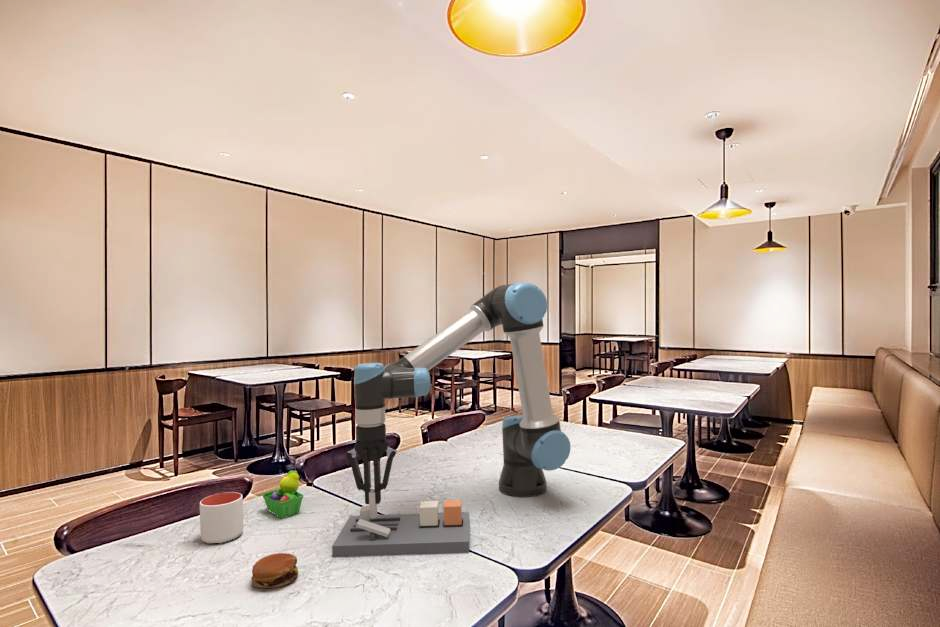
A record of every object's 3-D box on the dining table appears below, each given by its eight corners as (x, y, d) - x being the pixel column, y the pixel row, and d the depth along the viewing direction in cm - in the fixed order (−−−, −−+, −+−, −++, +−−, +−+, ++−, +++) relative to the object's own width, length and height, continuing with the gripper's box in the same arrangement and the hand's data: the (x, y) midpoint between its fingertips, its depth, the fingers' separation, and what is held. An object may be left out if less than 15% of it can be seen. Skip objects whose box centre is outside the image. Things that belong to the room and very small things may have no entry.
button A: (461, 517, 132) (461, 500, 132) (461, 524, 128) (461, 506, 128) (444, 518, 132) (444, 500, 132) (444, 525, 128) (443, 506, 128)
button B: (438, 518, 132) (438, 500, 132) (437, 525, 128) (437, 507, 128) (421, 519, 132) (421, 501, 132) (420, 526, 128) (419, 507, 128)
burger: (247, 577, 111) (246, 556, 111) (290, 565, 116) (290, 544, 116) (257, 597, 103) (257, 574, 103) (304, 583, 108) (303, 561, 108)
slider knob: (372, 520, 132) (371, 505, 132) (369, 526, 128) (369, 510, 128) (363, 521, 132) (362, 505, 132) (360, 526, 128) (359, 511, 128)
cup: (226, 547, 126) (225, 506, 126) (191, 544, 128) (190, 505, 128) (251, 530, 136) (250, 492, 136) (218, 528, 138) (217, 491, 138)
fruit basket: (261, 511, 149) (260, 473, 149) (289, 502, 155) (288, 465, 155) (280, 521, 141) (278, 480, 141) (309, 511, 148) (308, 472, 148)
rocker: (389, 531, 124) (390, 528, 124) (387, 537, 121) (388, 534, 121) (358, 521, 124) (359, 518, 124) (355, 526, 121) (356, 523, 121)
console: (469, 521, 137) (468, 506, 137) (469, 552, 119) (468, 535, 119) (350, 525, 137) (349, 510, 137) (332, 556, 119) (331, 540, 119)
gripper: (398, 420, 134) (401, 509, 134) (348, 421, 134) (351, 511, 134) (393, 426, 126) (396, 521, 126) (341, 427, 126) (344, 523, 126)
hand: (373, 516), depth 130 cm, fingers closed
